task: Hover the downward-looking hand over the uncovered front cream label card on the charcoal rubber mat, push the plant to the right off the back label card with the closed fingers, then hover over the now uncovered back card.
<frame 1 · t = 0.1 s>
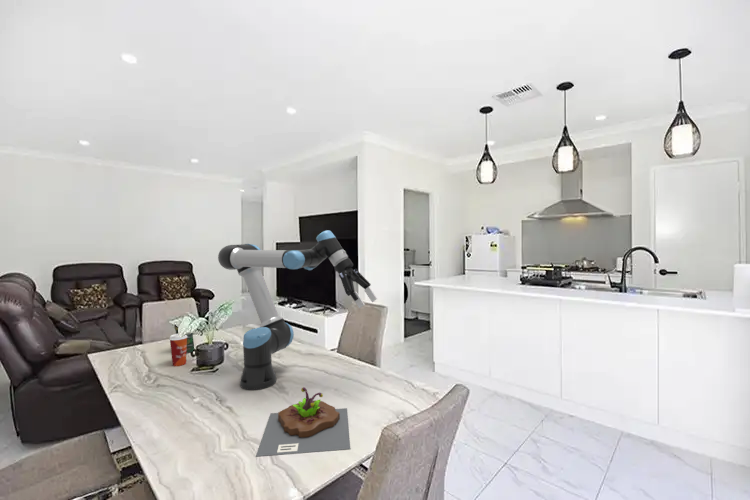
hand: (368, 303, 154), 36 cm above the table, tool tilted 35°, fingers open, 13 cm apart
coffee cup: (179, 364, 186), on the table
label mat: (306, 429, 122), on the table
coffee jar: (185, 352, 205), on the table
plant: (308, 420, 128), on the table, touching label mat
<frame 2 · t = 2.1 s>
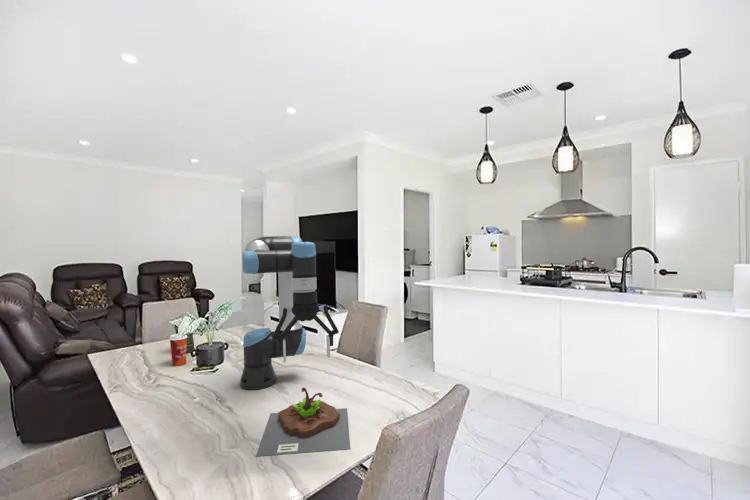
hand: (307, 358, 115), 26 cm above the table, tool pointing down, fingers open, 13 cm apart
nothing on the table moved.
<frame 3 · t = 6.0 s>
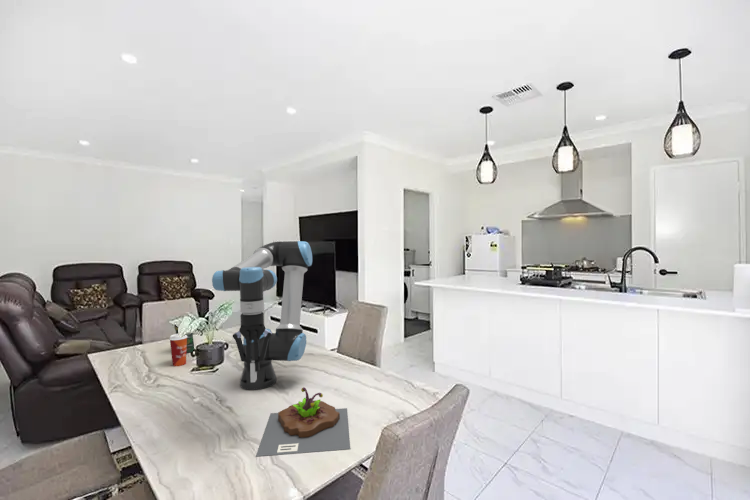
hand: (253, 380, 125), 15 cm above the table, tool pointing down, fingers closed
nothing on the table moved.
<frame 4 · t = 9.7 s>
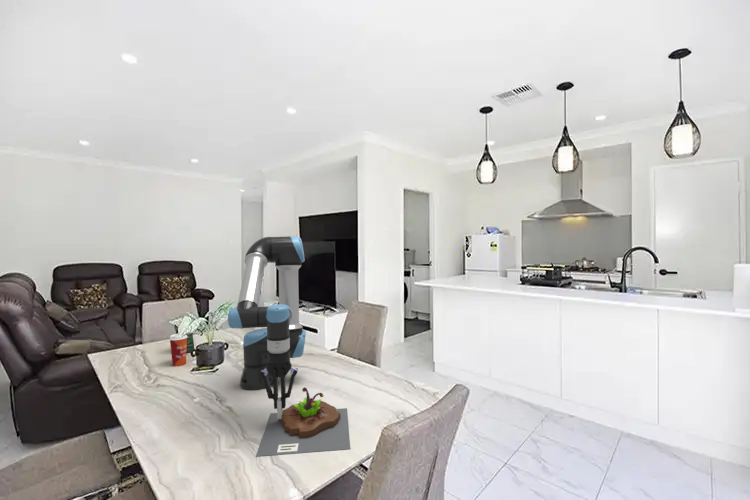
hand: (280, 417, 127), 2 cm above the table, tool pointing down, fingers closed
plant: (308, 420, 128), on the table, touching gripper, label mat
everything else where it was.
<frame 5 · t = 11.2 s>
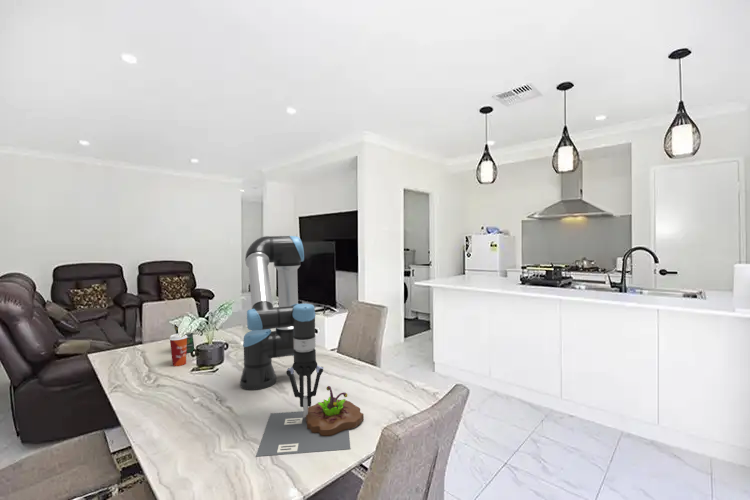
hand: (305, 415, 128), 2 cm above the table, tool pointing down, fingers closed
plant: (332, 419, 129), on the table, touching label mat
everything else where it was.
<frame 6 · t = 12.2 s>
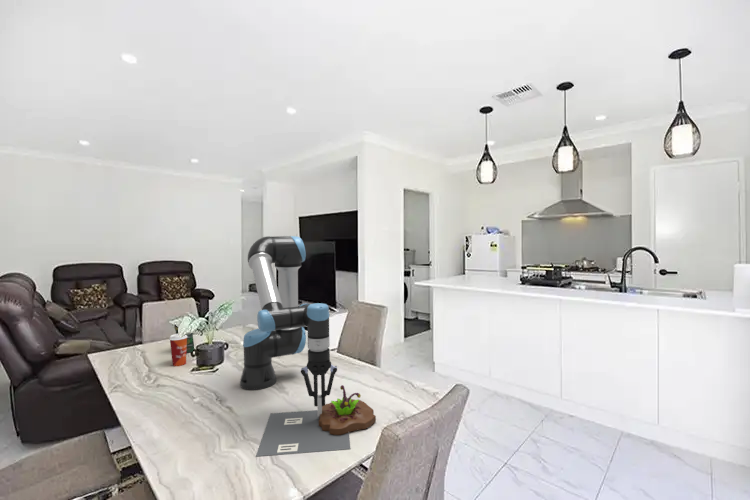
hand: (319, 414, 129), 2 cm above the table, tool pointing down, fingers closed
plant: (345, 418, 129), on the table, touching gripper, label mat
everything else where it was.
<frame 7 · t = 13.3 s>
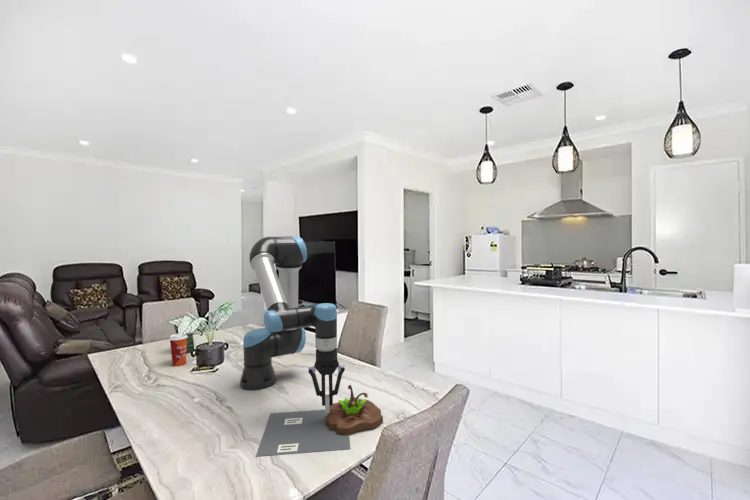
hand: (327, 413, 129), 2 cm above the table, tool pointing down, fingers closed
plant: (352, 418, 129), on the table, touching gripper, label mat
everything else where it was.
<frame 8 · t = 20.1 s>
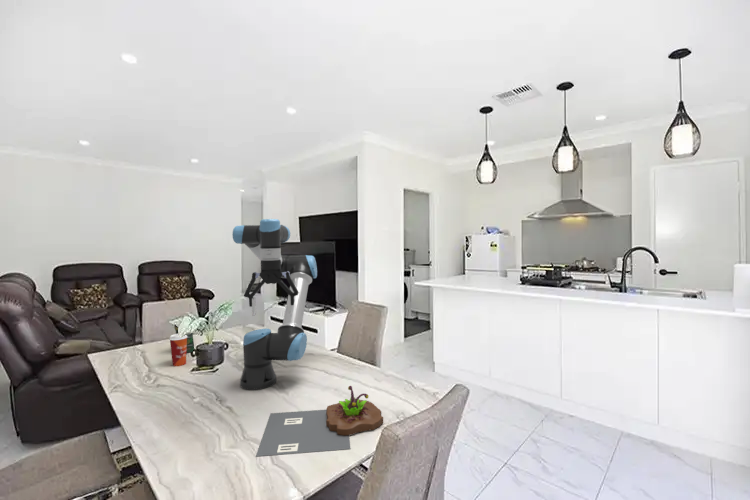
hand: (272, 314, 141), 35 cm above the table, tool pointing down, fingers open, 13 cm apart
plant: (352, 419, 129), on the table, touching label mat
everything else where it was.
at the end: plant inside the target area (4.0 cm from its centre), on the table; plant tilted 1°; plant moved 15.8 cm from its start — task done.
